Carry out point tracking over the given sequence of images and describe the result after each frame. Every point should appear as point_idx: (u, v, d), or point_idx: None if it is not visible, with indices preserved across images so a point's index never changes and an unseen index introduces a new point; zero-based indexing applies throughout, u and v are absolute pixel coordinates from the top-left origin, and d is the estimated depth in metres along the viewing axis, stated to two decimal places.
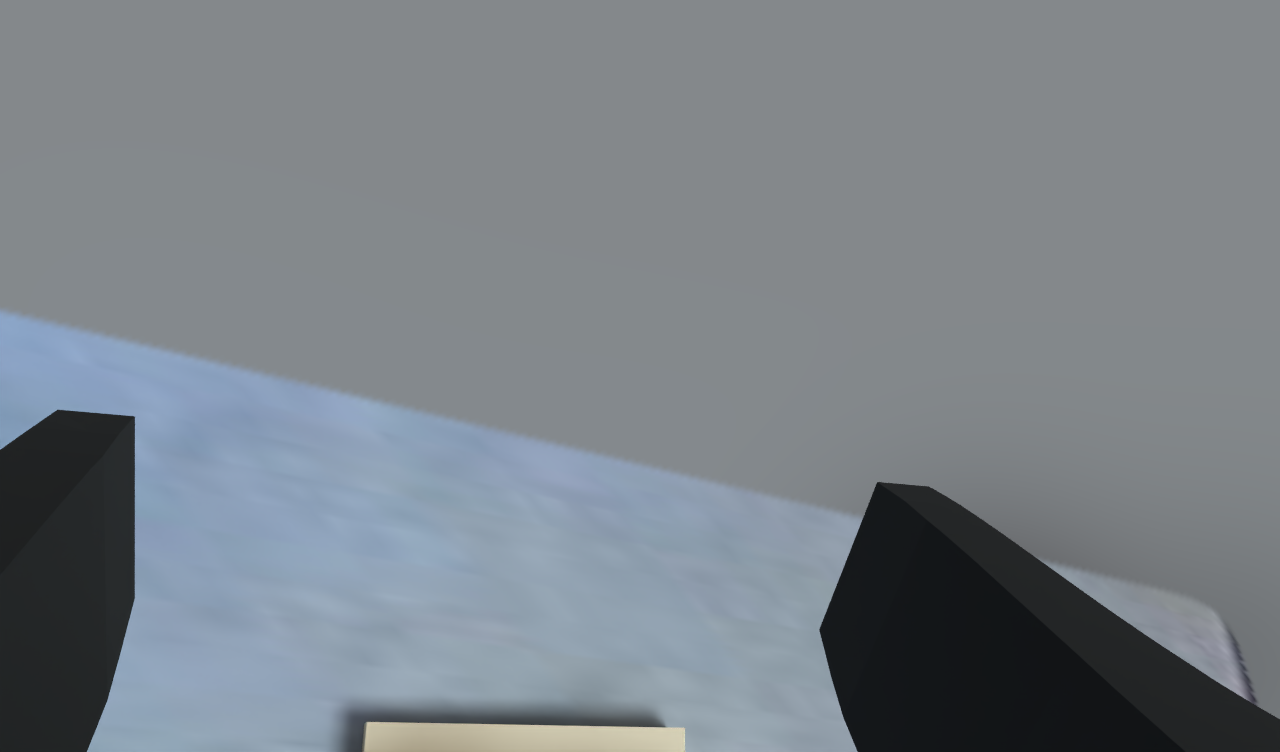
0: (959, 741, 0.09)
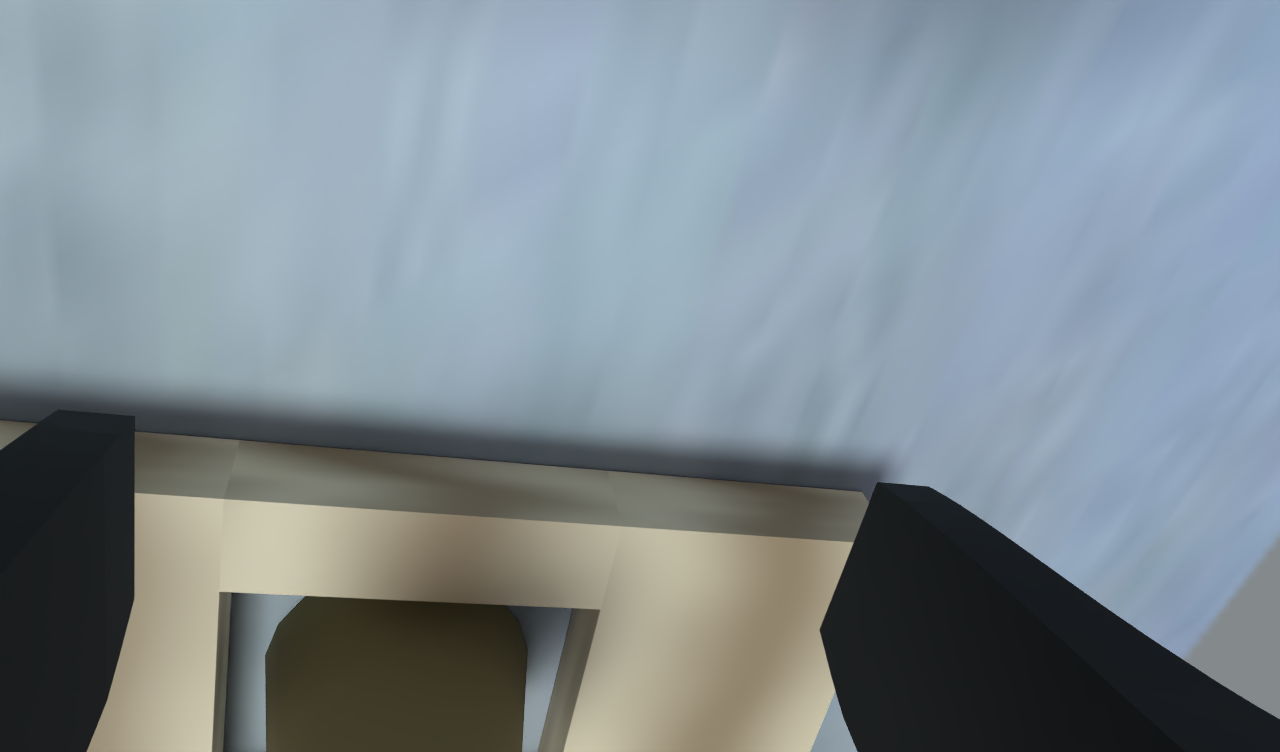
0: (959, 741, 0.09)
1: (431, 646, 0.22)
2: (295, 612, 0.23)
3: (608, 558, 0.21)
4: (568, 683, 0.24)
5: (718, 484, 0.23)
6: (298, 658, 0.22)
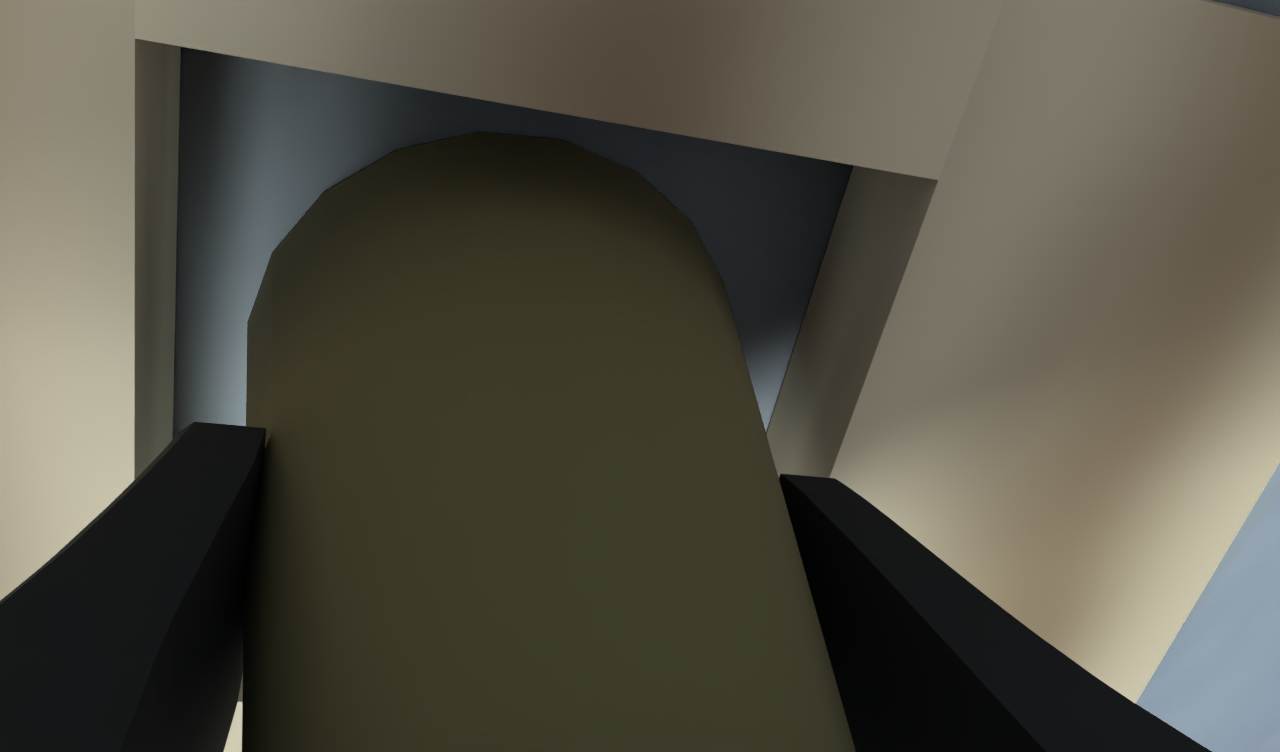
0: None
1: (595, 237, 0.10)
2: (306, 219, 0.12)
3: (978, 43, 0.10)
4: (820, 391, 0.13)
5: None
6: (313, 274, 0.10)
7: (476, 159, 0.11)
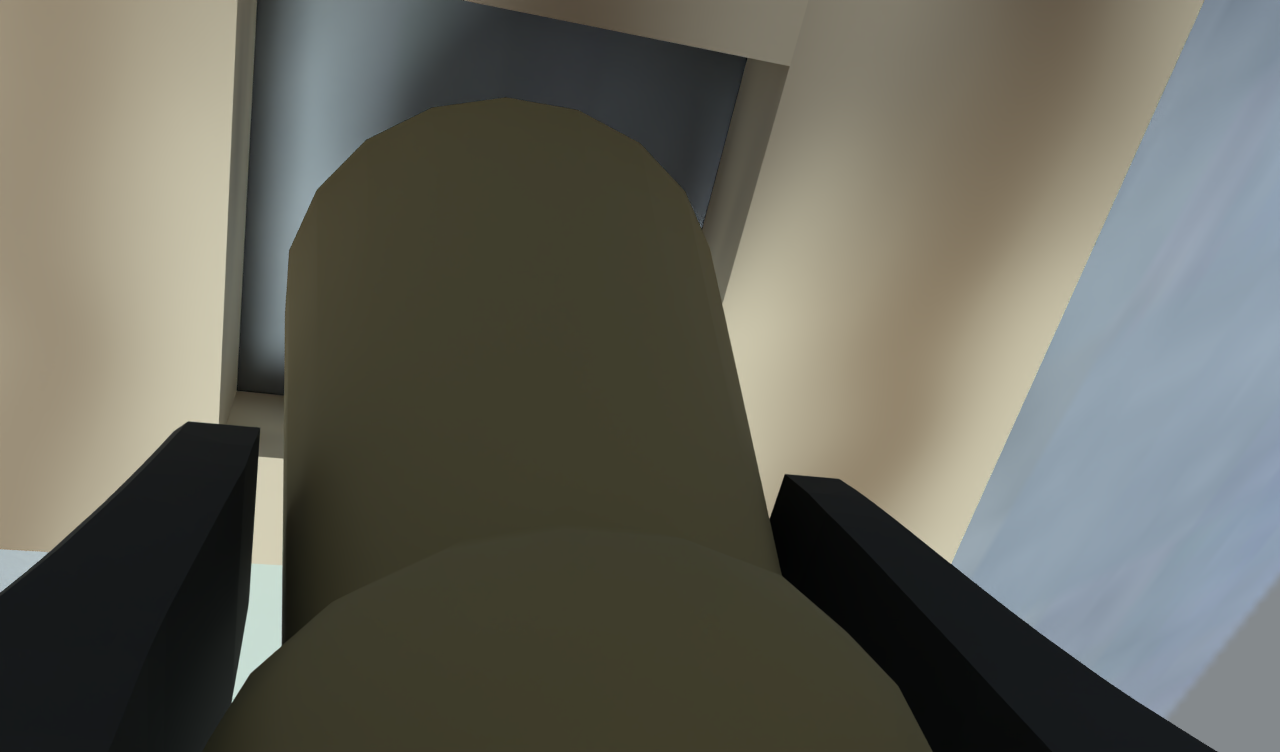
0: None
1: (601, 188, 0.12)
2: (350, 161, 0.13)
3: None
4: (721, 237, 0.17)
5: None
6: (356, 204, 0.12)
7: (503, 118, 0.13)
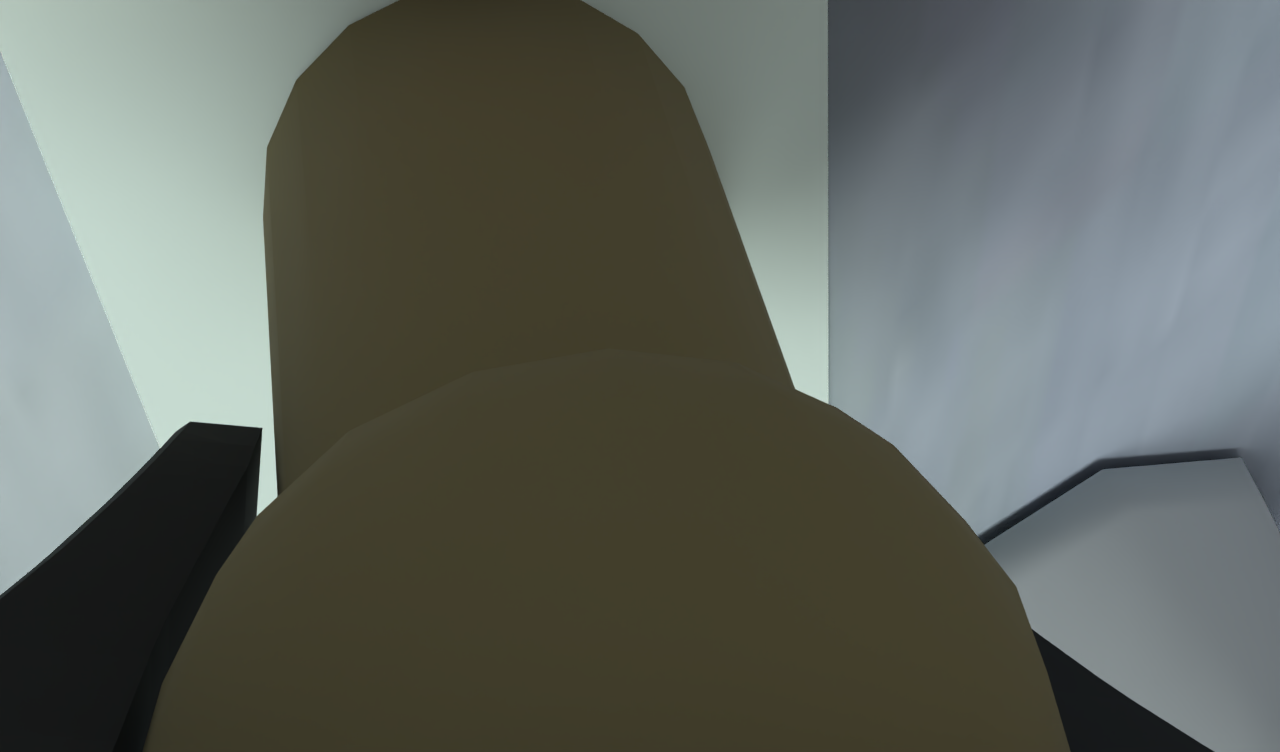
0: None
1: (604, 65, 0.11)
2: (331, 47, 0.12)
3: None
4: None
5: None
6: (342, 84, 0.11)
7: None
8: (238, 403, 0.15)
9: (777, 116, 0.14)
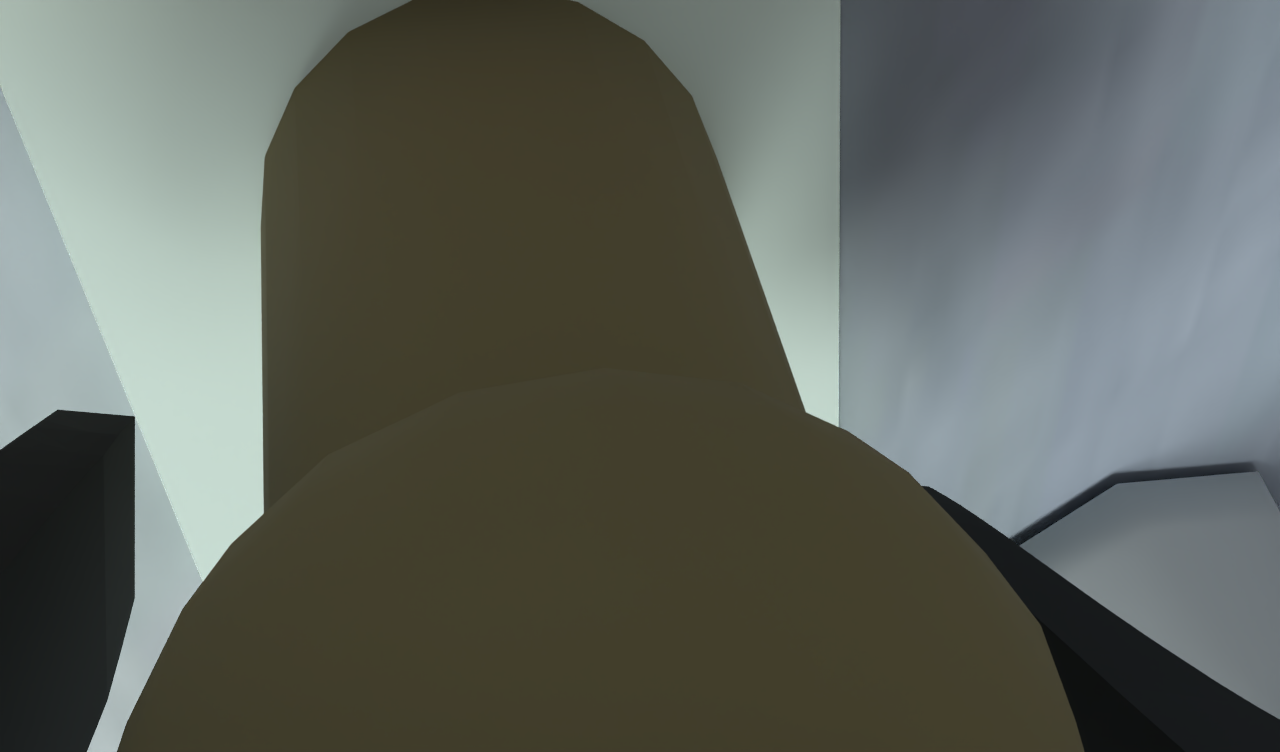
0: None
1: (608, 73, 0.11)
2: (330, 55, 0.12)
3: None
4: None
5: None
6: (339, 92, 0.11)
7: (498, 5, 0.12)
8: (235, 419, 0.14)
9: (787, 125, 0.14)
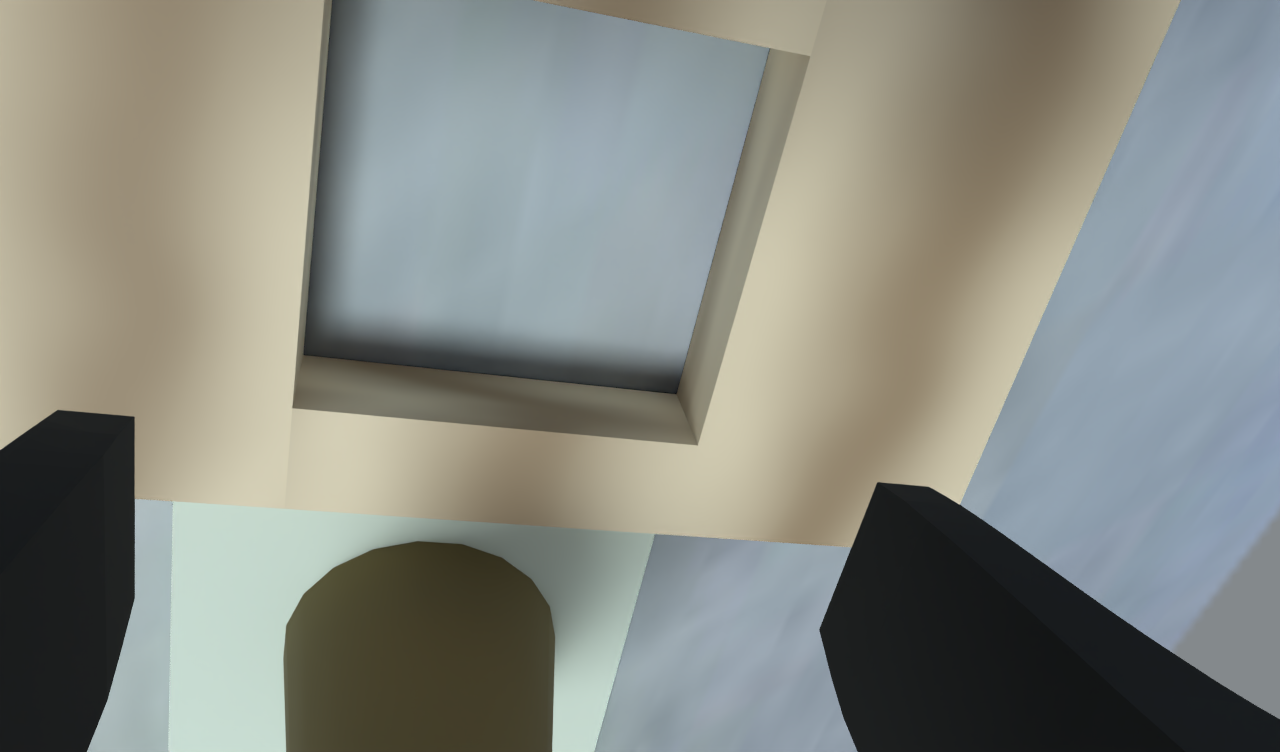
0: (959, 741, 0.09)
1: (505, 637, 0.21)
2: (360, 561, 0.22)
3: None
4: (746, 212, 0.19)
5: None
6: (364, 609, 0.21)
7: (459, 566, 0.22)
8: (228, 713, 0.23)
9: (598, 628, 0.24)
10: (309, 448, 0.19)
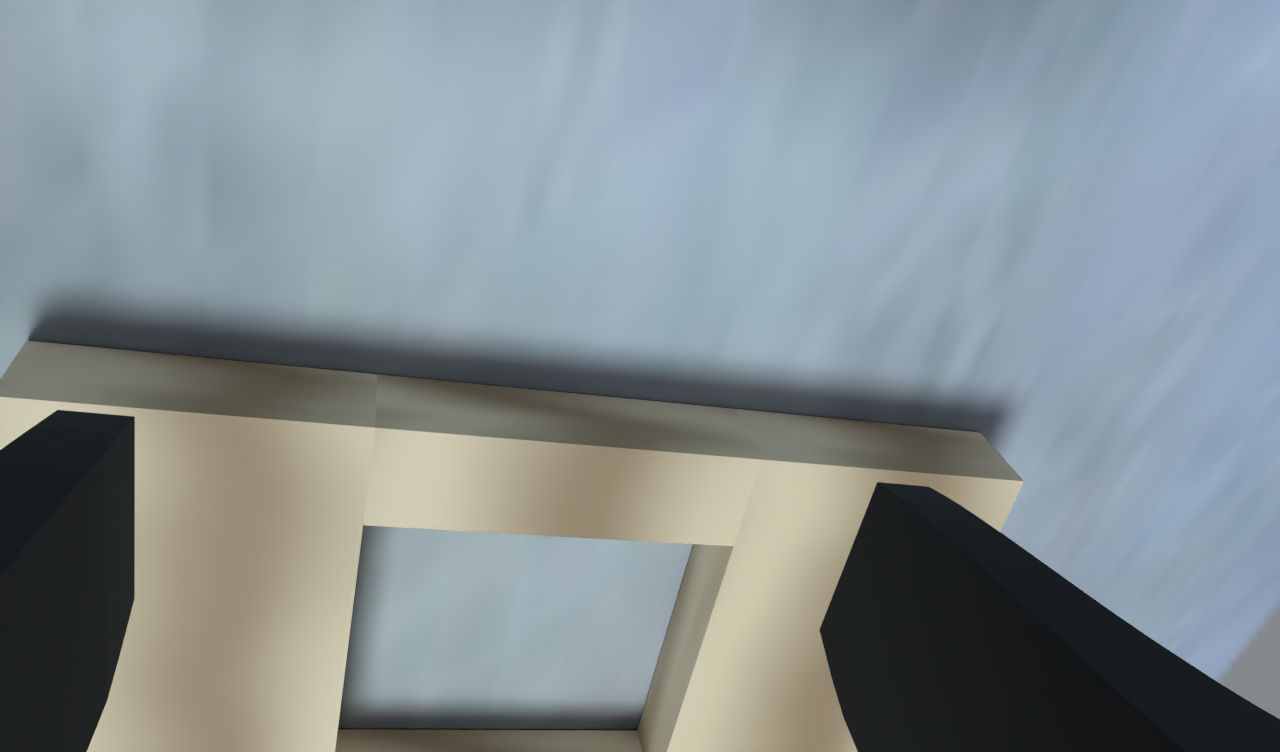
0: (959, 741, 0.09)
1: None
2: None
3: (745, 493, 0.21)
4: (688, 626, 0.24)
5: (842, 423, 0.23)
6: None
7: None
8: None
9: None
10: None
